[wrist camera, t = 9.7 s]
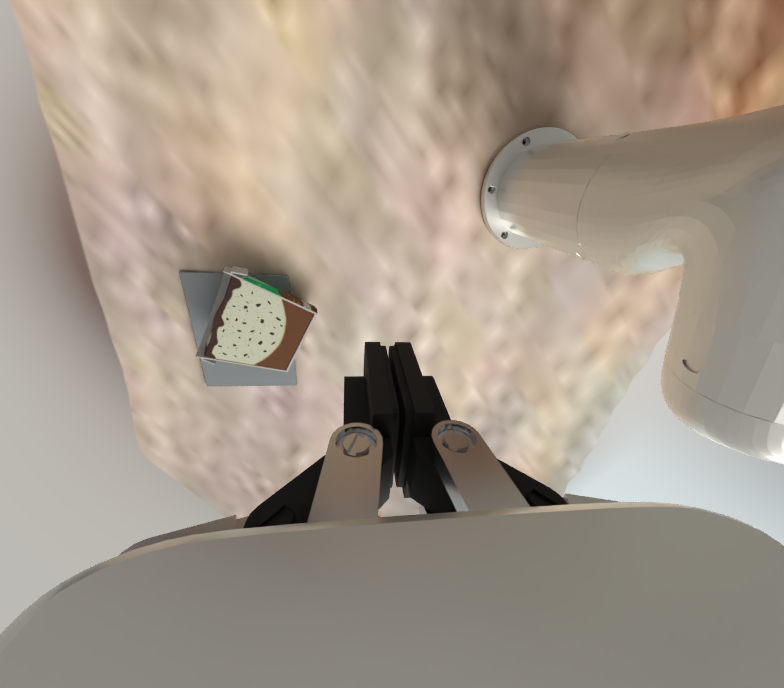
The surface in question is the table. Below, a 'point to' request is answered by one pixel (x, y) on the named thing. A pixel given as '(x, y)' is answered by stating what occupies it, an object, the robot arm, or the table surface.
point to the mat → (200, 304)
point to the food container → (254, 324)
